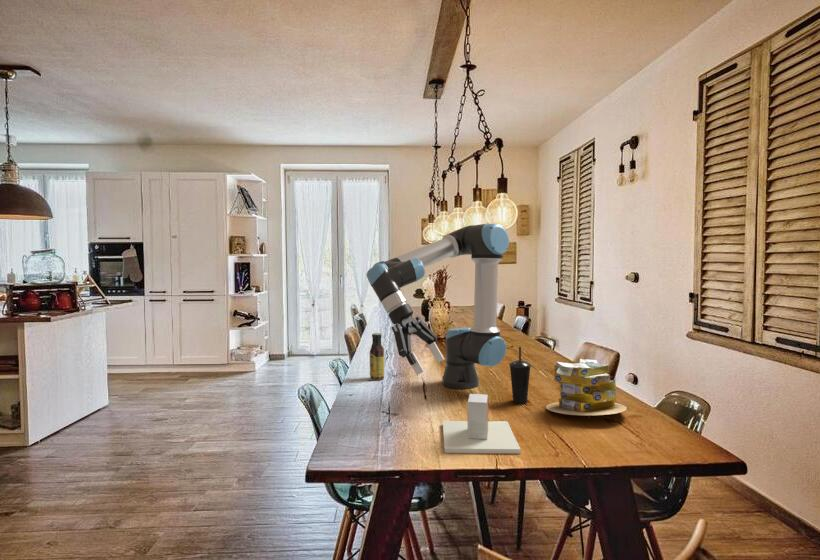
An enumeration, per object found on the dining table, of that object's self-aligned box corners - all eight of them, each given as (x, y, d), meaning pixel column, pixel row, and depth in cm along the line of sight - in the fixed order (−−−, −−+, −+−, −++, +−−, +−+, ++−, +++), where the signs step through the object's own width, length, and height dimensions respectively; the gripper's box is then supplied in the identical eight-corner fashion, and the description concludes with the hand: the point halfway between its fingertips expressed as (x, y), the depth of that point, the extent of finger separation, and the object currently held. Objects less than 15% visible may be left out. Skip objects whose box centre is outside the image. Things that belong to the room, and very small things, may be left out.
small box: (487, 440, 123) (487, 402, 123) (467, 438, 124) (467, 401, 124) (488, 429, 131) (488, 394, 131) (469, 427, 132) (469, 393, 132)
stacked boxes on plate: (533, 404, 157) (533, 357, 156) (594, 398, 163) (595, 353, 162) (573, 430, 133) (574, 375, 132) (644, 422, 139) (645, 369, 138)
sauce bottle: (370, 377, 195) (369, 332, 194) (384, 376, 195) (383, 331, 194) (369, 381, 188) (369, 334, 187) (384, 380, 189) (384, 334, 188)
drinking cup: (532, 399, 161) (532, 345, 160) (529, 406, 154) (529, 349, 153) (511, 397, 164) (511, 343, 164) (507, 403, 158) (506, 347, 157)
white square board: (442, 424, 138) (442, 421, 138) (507, 425, 137) (507, 421, 137) (444, 452, 118) (444, 448, 118) (520, 453, 117) (520, 449, 117)
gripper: (409, 308, 154) (440, 361, 150) (366, 321, 133) (401, 384, 129) (424, 297, 151) (457, 352, 146) (383, 308, 129) (420, 373, 125)
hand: (431, 367), depth 138 cm, fingers open, 13 cm apart
